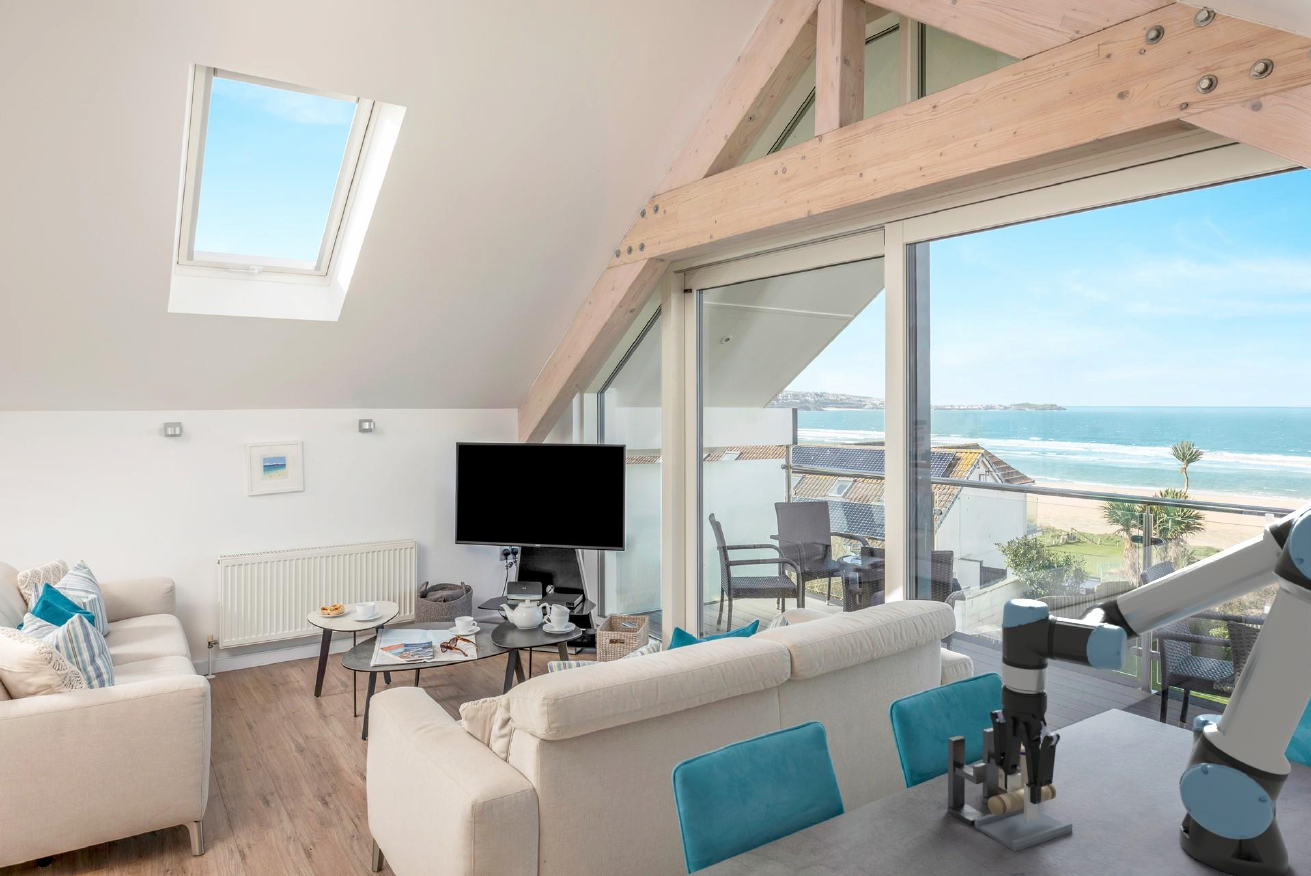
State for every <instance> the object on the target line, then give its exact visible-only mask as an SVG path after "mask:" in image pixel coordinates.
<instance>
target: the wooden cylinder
mask: <svg viewBox="0 0 1311 876" xmlns="http://www.w3.org/2000/svg"><path fill="white" fill-rule="evenodd" d="M1056 796H1057V790H1056V787H1055V786H1054V784H1053V783H1052V784H1051V785H1048V786H1044V787H1041V802H1040V803H1039V804H1041V803H1043V802H1047V801H1050V800H1055V798H1056ZM987 806H988V809H989V811H990V813H991V814H994V815H996V816H999V815H1002V814H1005V813H1009V812H1012V811H1015V810H1018V809H1022V808H1024V788H1022V789H1019V790H1016V791H1012V792H1009V793H1007V792H1006V793H1005V792H1004V793H1002V794H1001V795H999V796H993V797H991V798H990V799H989V800H988V805H987Z"/></svg>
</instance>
